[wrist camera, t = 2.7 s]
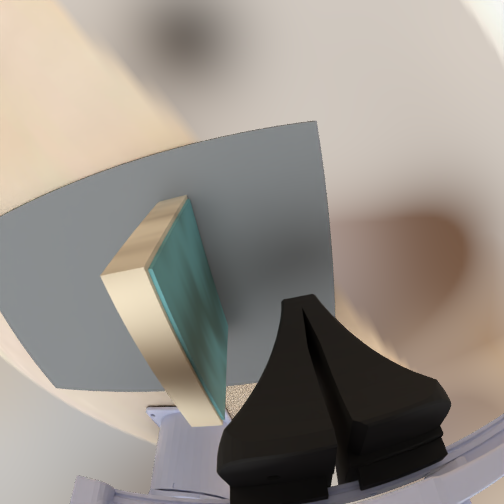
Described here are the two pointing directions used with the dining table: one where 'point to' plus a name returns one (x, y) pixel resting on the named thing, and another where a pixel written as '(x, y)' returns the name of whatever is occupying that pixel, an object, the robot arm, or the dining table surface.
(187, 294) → the birch tile
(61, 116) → the dining table surface
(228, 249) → the rubber mat
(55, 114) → the dining table surface
